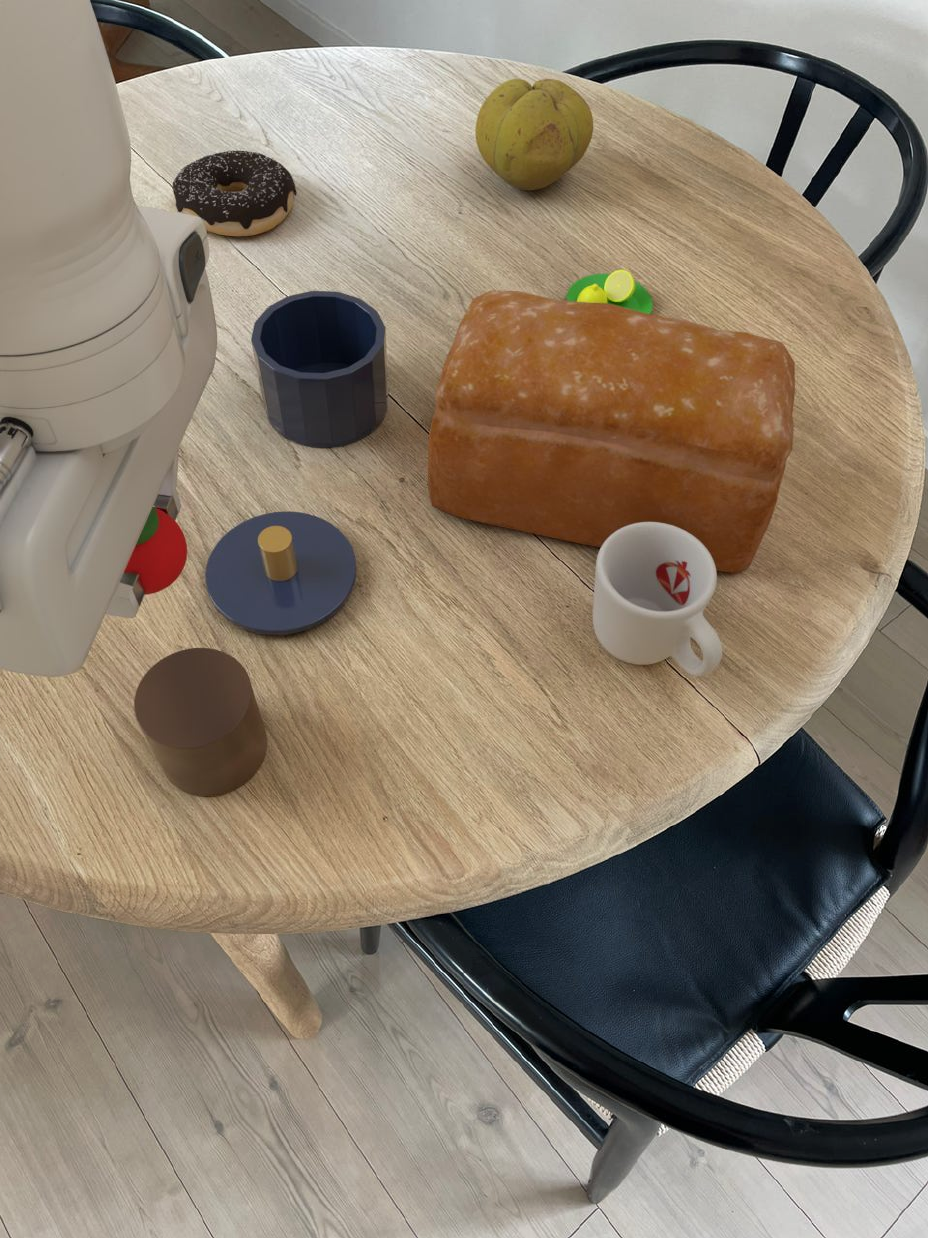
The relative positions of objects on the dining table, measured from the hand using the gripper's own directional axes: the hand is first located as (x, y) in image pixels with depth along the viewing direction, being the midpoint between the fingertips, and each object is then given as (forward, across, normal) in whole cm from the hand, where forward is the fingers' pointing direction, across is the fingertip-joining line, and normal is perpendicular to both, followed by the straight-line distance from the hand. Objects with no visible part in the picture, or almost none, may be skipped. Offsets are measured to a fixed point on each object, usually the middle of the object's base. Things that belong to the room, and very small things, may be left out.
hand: (144, 559), depth 49 cm
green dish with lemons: (+20, +50, -23) cm, 58 cm away
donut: (+20, +58, +15) cm, 63 cm away
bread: (+20, +27, -24) cm, 41 cm away
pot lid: (+19, +14, -1) cm, 24 cm away
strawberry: (+1, 0, 0) cm, 1 cm away
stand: (+20, 0, 0) cm, 20 cm away
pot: (+20, +32, 0) cm, 38 cm away
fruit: (+20, +68, -13) cm, 72 cm away
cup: (+20, +12, -28) cm, 37 cm away
